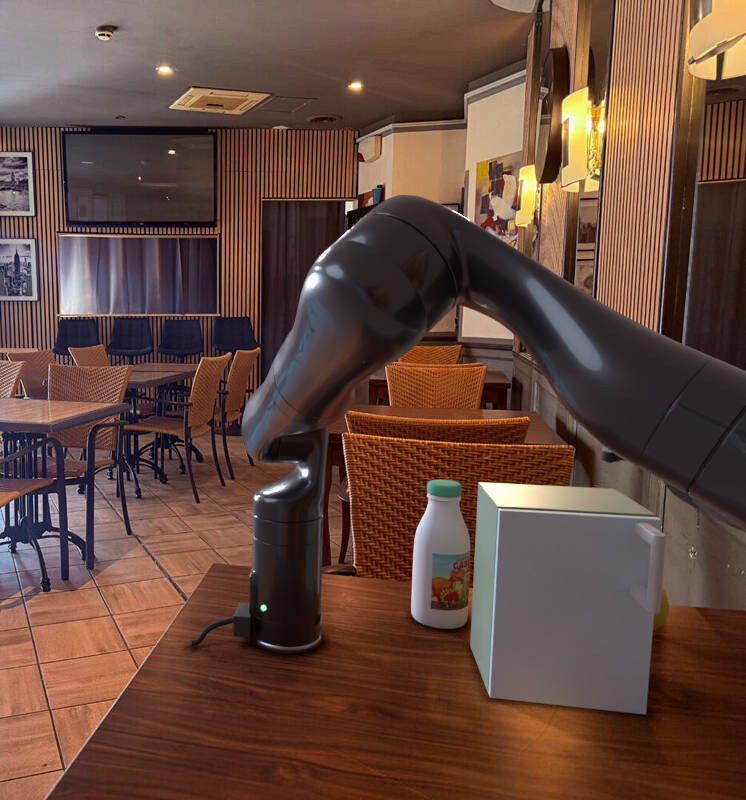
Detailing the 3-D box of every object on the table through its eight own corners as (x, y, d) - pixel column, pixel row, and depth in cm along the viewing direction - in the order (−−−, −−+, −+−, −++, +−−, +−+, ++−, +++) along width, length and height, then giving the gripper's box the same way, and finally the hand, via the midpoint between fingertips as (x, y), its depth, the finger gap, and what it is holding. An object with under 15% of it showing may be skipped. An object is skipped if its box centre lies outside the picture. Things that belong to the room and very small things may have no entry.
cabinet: (641, 709, 76) (656, 514, 74) (487, 693, 79) (497, 506, 77) (602, 658, 88) (614, 488, 86) (470, 646, 91) (478, 482, 89)
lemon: (673, 644, 92) (678, 586, 91) (628, 640, 93) (632, 582, 92) (656, 626, 97) (660, 571, 96) (613, 622, 98) (617, 568, 98)
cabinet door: (666, 742, 70) (684, 534, 68) (498, 723, 73) (509, 523, 71) (642, 709, 76) (657, 517, 73) (488, 693, 79) (498, 508, 77)
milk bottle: (407, 624, 97) (413, 485, 95) (413, 604, 104) (418, 474, 102) (466, 634, 94) (473, 491, 92) (468, 612, 101) (474, 479, 99)
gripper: (863, 420, 46) (724, 393, 63) (643, 413, 48) (566, 389, 65) (851, 530, 47) (716, 474, 63) (635, 518, 49) (561, 468, 66)
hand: (640, 431), depth 64 cm, fingers closed
